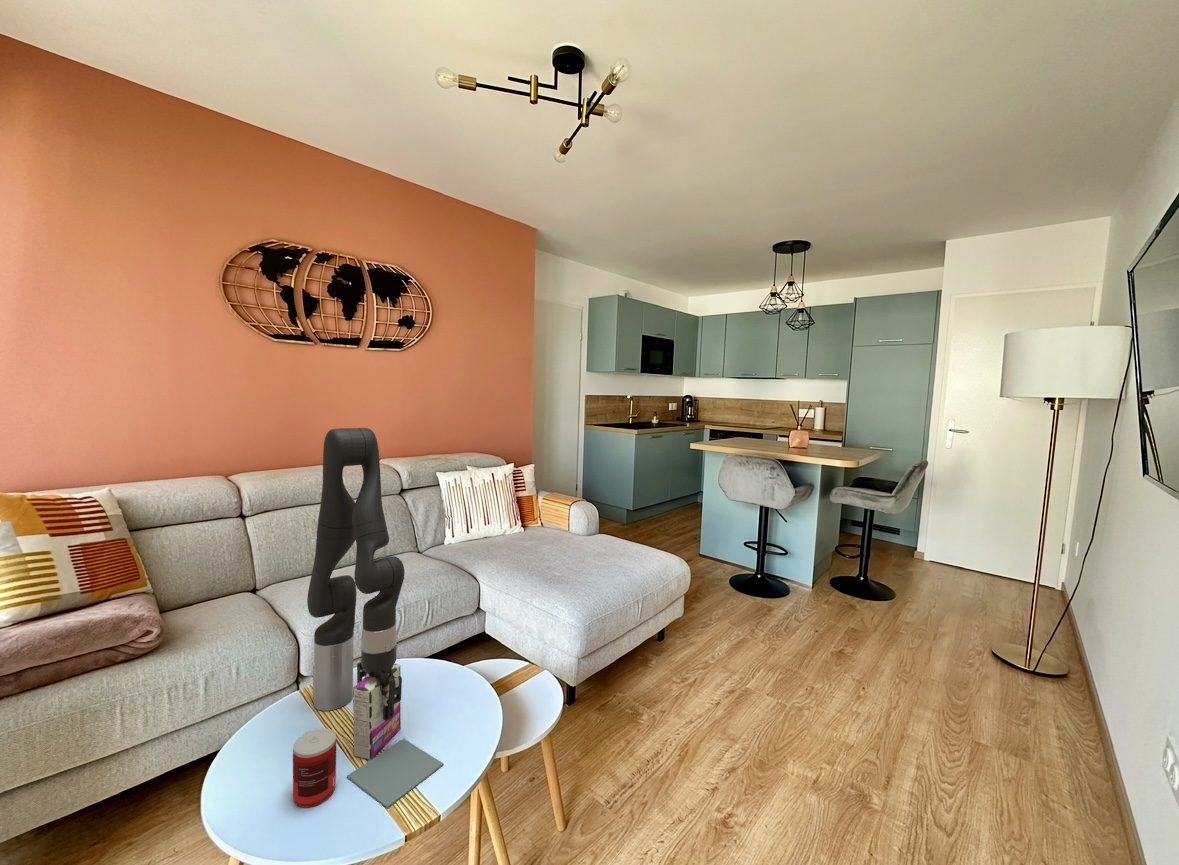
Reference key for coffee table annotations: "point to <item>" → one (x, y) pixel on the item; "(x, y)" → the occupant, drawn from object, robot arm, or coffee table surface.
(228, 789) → the coffee table surface
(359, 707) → the candy bar box
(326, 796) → the canned food
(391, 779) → the mat
